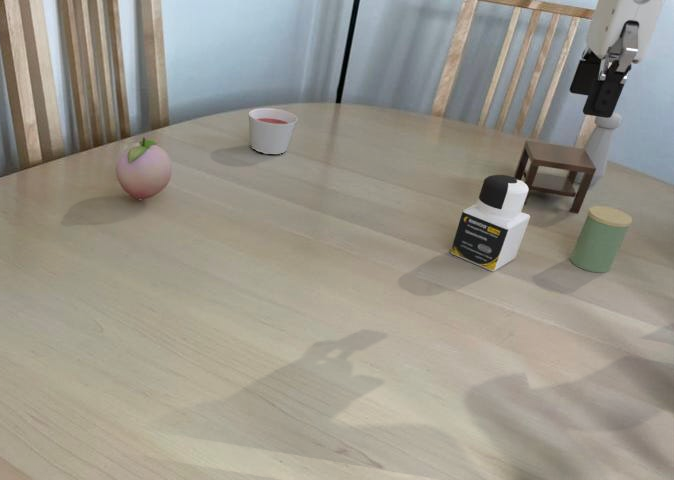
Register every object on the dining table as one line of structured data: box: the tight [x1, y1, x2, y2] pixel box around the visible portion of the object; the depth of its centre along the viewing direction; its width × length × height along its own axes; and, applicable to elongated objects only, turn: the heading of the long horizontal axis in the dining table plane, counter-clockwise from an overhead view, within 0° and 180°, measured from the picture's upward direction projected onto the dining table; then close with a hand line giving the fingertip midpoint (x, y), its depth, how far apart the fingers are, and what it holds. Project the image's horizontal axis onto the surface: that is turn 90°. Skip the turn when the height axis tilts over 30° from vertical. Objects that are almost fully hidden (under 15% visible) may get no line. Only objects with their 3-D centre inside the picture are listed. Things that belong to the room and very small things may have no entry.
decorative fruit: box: [115, 137, 173, 200], centre depth 114 cm, size 9×8×10 cm
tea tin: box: [569, 205, 633, 274], centre depth 109 cm, size 6×6×8 cm
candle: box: [248, 107, 298, 154], centre depth 139 cm, size 9×9×6 cm
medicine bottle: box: [450, 174, 531, 273], centre depth 107 cm, size 7×7×12 cm
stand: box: [513, 139, 596, 214], centre depth 130 cm, size 10×10×8 cm
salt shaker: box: [574, 111, 623, 186], centre depth 137 cm, size 6×6×13 cm
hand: (588, 104), depth 92 cm, fingers open, 9 cm apart
